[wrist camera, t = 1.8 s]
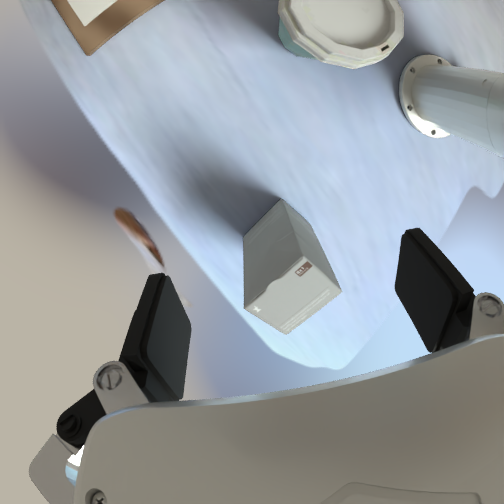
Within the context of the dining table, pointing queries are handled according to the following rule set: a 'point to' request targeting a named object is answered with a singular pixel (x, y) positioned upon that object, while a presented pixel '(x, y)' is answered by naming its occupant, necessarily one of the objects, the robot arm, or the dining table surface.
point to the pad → (89, 8)
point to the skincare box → (285, 270)
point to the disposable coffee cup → (341, 30)
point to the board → (103, 21)
